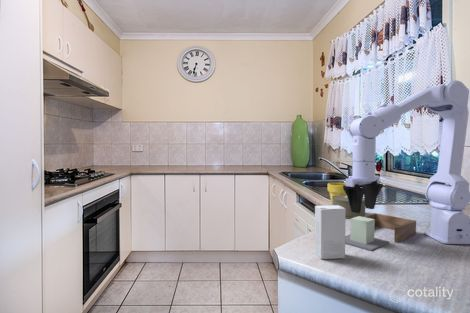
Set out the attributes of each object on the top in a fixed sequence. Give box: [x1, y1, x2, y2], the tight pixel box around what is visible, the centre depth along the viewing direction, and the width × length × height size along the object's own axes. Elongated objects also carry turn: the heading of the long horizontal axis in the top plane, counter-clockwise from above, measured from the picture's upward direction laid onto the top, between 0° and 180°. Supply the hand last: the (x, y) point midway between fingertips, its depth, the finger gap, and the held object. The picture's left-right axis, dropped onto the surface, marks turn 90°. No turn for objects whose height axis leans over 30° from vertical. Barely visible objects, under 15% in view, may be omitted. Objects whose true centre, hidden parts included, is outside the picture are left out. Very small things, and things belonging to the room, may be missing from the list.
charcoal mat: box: [345, 234, 390, 252], centre depth 80 cm, size 10×10×1 cm
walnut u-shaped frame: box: [363, 212, 417, 243], centre depth 88 cm, size 13×13×4 cm
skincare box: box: [314, 204, 346, 260], centre depth 70 cm, size 6×4×12 cm
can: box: [331, 195, 366, 220], centre depth 110 cm, size 12×12×7 cm
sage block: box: [349, 216, 376, 244], centre depth 80 cm, size 4×4×6 cm
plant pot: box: [327, 182, 346, 205], centre depth 128 cm, size 10×10×10 cm
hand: (362, 210), depth 80 cm, fingers open, 7 cm apart
